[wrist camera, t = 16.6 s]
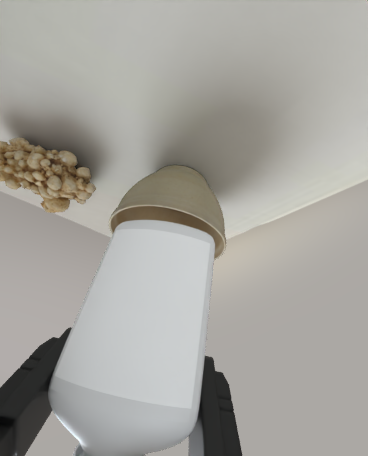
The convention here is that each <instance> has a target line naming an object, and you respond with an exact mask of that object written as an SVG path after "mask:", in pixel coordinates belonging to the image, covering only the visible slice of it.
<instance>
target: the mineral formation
mask: <svg viewBox="0 0 368 456" xmlns="http://www.w3.org/2000/svg"><path fill="white" fill-rule="evenodd" d="M9 142H10V145H8V143H7V142H2V141H0V181H5V183H6V186H7V187H9V188H11V189H15V190H16V189H18V188H19V187H21V186H22V188H24V189H25V188H26V189H31V191H32V192H33V193H35V194H37V195H41V197H42V198H43V199H44V201H43V202H42V203H41V205H42V206H43V208H44V209H45V211H46V212H50V213H55V212H63V211H65V210H66V209H68V207H69V204H70V200H69V199H75V200H76V201H77V202H78V203H80V204H84V203H85V202H86V199H89V198H90V197H91V195H92V193H93V192H94V191H95V190H96V187H95V186H94V184H92V183H90V179H91V174H90V170H89V168H86V167H80V168H78V169H76V168H75V167H74V166H75V165H76V164H77V159H76V156H75V155H74V154H73V153H71V152H69V151H60V152H58V151H57V150H55V149H54V150H51V151H49V150H48V151H47V150H45V149H44V148H42V147H41V146H39V145H38V146H34V145H30V144H29V142H28V141H27V140H26V139H25V138H19V137H18V138H14V139H11V140H9Z"/></svg>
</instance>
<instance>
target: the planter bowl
mask: <svg viewBox="0 0 368 456" xmlns="http://www.w3.org/2000/svg"><path fill="white" fill-rule="evenodd" d="M133 220H159V221H167V222H173V223H177V224H182V225H186V226H189V227H192V228H195V229H198V230H201V231H203V232H206V233H208V234H209V235H210V236H212V238H213V240H214V242H215V254H214V260H216V259H218V258H219V257H220V256H221V255H222V254H223V253H224V251H225V248H226V238H225V234H224V232H225V229H224V219H223V214H222V210H221V208H220V205H219V203H218V200H217V198H216V197H215V195H214V193H213V192H212V190H211V189H210V188H209V187H208V184H207V182H206V180H205V179H204V177H203V176H202V175H201V174H200V173H198V172H197V171H195V170H193V169H191V168H189V167H186V166H181V165H170V166H166V167H163V168H161V169H160V170H158V171H157V172H156V173H153V174H151V175H149V176H147V177H145V178H144V179H142V180H141V181H139V182H138V183H137V184H135V185H134V186H133V187H132V188H131V189H130V190H129V191H128V192H127V193H126V195H125V196H124V197H123V199H122V200H121V202H120V204H119V206H118V208H116V210H115V211H114V212H113V214H112V215H111V217H110V220H109V228H110V231H111V233H112V234H113V233H114V231H115V229H116V227H117V226H118V225H119V224H121V223H122V222H126V221H133Z"/></svg>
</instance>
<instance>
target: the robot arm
mask: <svg viewBox="0 0 368 456" xmlns="http://www.w3.org/2000/svg"><path fill="white" fill-rule="evenodd" d="M71 329H72V328H68V329H67V330H66V331H65V332H64V333H63V334H62V336H61V337H60V338H54V337H53V338H51V339H49V340H48V341H46V342H45V343H43V344H42V345H40V346H39V347H38V349H36V350H35V351H34V353H33V354H32V355H31V356H30V357H29V359H27V360H26V361H25V362H24V363H23V364H22V365H21V367H20V368H19V369H18V370H17V371H16V372H15V373H14V374H13V375H12V376H11V377H10V378H9V379H8V380H7V381H6V382H5V383H4V384H3V385H2V387H1V388H0V456H25V454H26V452H27V451H28V449H29V447H30V446H31V444H32V443H33V441H34V439H35V437H36V436H37V434H38V433H39V431H40V430H41V428H42V426H43V425H44V423H45V421H46V420H47V418H48V417H49V415H50V413H51V411H52V407H51V405H50V402H49V398H48V390H49V384H50V381H51V378H52V375H53V372H54V370H55V367H56V365H57V362H58V360H59V358H60V355H61V353H62V350H63V348H64V346H65V343H66V341H67V338H68V336H69V334H70V331H71ZM233 410H234V409H233V404H232V401H231V394H230V388H229V384H228V382H227V380H226V379H225V377H224V375H223V373H221V372H217V371H215V367H214V360H213V358H212V357H208V356H205V358H204V369H203V378H202V387H201V396H200V405H199V411H198V417H197V421H196V424H195V427H194V429H193V431H192V432H191V434H190V435H189V456H242V452H241V446H240V441H239V436H238V432H237V425H236V420H235V415H234V412H233Z"/></svg>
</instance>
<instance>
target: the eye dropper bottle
mask: <svg viewBox="0 0 368 456" xmlns="http://www.w3.org/2000/svg"><path fill="white" fill-rule="evenodd" d="M214 254H215V242H214V240H213V238H212V236H210V235H209V234H208V233H206V232H203V231H201V230H198V229H195V228H192V227H189V226H186V225H182V224H177V223H173V222H167V221H159V220H133V221H126V222H122V223H121V224H119V225H118V226H117V227H116V229H115V231H114V233H113V235H112V237H111V240H110V242H109V244H108V247H107V249H106V251H105V253H104V256H103V258H102V260H101V262H100V265H99V267H98V269H97V272H96V274H95V276H94V279H93V281H92V283H91V286H90V288H89V290H88V292H87V295H86V297H85V299H84V302H83V304H82V306H81V308H80V311H79V313H78V315H77V318H76V320H75V322H74V325H73V327H72V329H71V331H70V334H69V336H68V338H67V341H66V343H65V346H64V348H63V350H62V353H61V355H60V358H59V360H58V362H57V365H56V367H55V370H54V372H53V375H52V378H51V381H50V384H49V390H48V398H49V402H50V405H51V407H52V410H53V412H54V414H55V415H56V417H57V418H58V419H59V420H60V422H61V423H62V424H63V425H64V426H65V428H66V429H68V430H69V431H70V432H71V433H72V434H73V435H74V436H75V437H76V438H77V439H78V440H79V441H80V443H79V444H78V445H77V446H76V448H75V450H74V453H73V456H145V454H147V453H151V452H156V451H161V450H164V449H167V448H170V447H173V446H175V445H177V444H179V443H181V442H182V441H183V440H184V439H186V438H187V437H188V436H189V435H190V434H191V432H192V431H193V429H194V427H195V424H196V421H197V417H198V411H199V405H200V396H201V387H202V378H203V369H204V358H205V348H206V338H207V327H208V317H209V307H210V296H211V286H212V275H213V265H214Z"/></svg>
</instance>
